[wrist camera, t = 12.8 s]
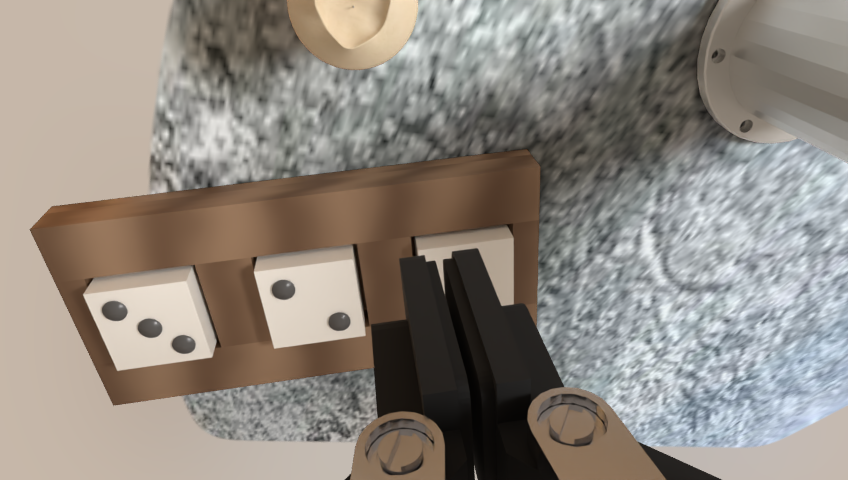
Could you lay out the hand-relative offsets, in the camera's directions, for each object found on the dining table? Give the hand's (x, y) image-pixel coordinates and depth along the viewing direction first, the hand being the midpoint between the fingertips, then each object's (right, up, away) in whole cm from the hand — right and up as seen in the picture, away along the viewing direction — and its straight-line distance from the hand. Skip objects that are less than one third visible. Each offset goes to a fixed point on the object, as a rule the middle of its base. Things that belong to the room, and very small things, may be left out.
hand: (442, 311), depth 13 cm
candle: (-4, +16, +20) cm, 26 cm away
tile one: (+2, 0, +28) cm, 28 cm away
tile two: (-8, -1, +27) cm, 28 cm away
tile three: (-18, -2, +26) cm, 32 cm away
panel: (-8, -1, +28) cm, 29 cm away
